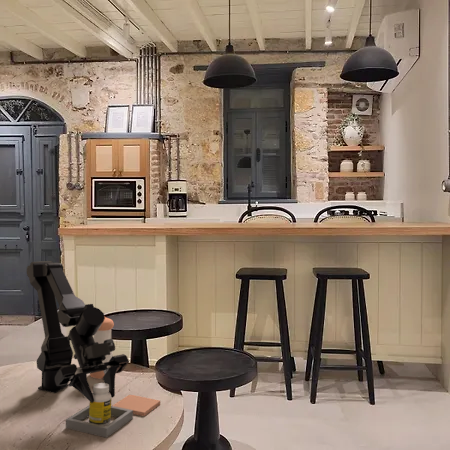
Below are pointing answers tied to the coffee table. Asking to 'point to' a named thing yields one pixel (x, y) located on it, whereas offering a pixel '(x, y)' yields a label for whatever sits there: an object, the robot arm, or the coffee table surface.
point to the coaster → (138, 404)
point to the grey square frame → (95, 429)
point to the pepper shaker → (100, 337)
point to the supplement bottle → (100, 405)
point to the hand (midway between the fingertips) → (103, 399)
